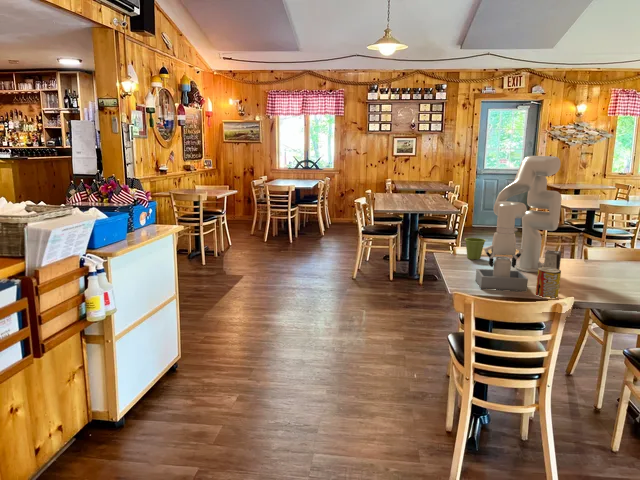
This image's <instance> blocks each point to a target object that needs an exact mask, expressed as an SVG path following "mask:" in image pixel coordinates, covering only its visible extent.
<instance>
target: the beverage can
mask: <svg viewBox="0 0 640 480" xmlns="http://www.w3.org/2000/svg"><path fill="white" fill-rule="evenodd" d="M536 275H537V277H536V286H535V287H536V288H535V294H536V295H539V296H542V297H550V298H556V297H558V298H559V290H560V284H561V275H562V270H561V269H555V268H549V267H540V268H538V272H537V274H536ZM536 295H535V296H536Z"/></svg>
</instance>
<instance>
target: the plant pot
mask: <svg viewBox="0 0 640 480" xmlns="http://www.w3.org/2000/svg"><path fill="white" fill-rule="evenodd" d="M463 240H464V241H465V247H466V257H467V259H469V260H473V261H474V260H477V261H478V260H481V257H482V253H483V250H484V245H485V242H486V241H487V240H486V239H485V238H480V237H479V238H478V237H465V238H464V239H463Z"/></svg>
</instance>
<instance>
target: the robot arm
mask: <svg viewBox="0 0 640 480" xmlns="http://www.w3.org/2000/svg"><path fill="white" fill-rule="evenodd" d="M561 166H562V165H561V159H560V158H559V157H558V156H553V155H552V156H551V155H528V156H526V157H524V158H523V160H522V161H521V162H520V164H519V167H518V170H517V172H516V175H515V178H514V180H513V182H511V183H510V184H509V185H507V186H505V187H504V188H503V189H502V190H501V191H499V193H498V194H497V197H496V199H495V202H494V205H493V213H494V215H496V216H497V218H496V219H497V221H496V230H495V231H496V232H494V233H493V236H492V242H491V245H488V246H486V247H483V250H484V253H485V254H486V255H487V257H488V258H489V259H488V264H489V266H490V267H491V268H494V260H495V259H494V257H496V256H512V257H511V267H512V268H513V269H514V268H515V269H516V270H517V271H520V272H527V273H538V268H540V267H544V262H541V261H540V258H541V257H540V256H541V248H542V241H543V237H542V234H541V233H540V231H541V230H542V231H549V232H553V231H556V230H557V229H558V227H559V223H560V217H561V209H562V195H561V193H560V192H559V191H557V190H548V189H547V187H548V186H547V185H548V178H547V177H552V176H553V175H555V174H557V173H558V172H559V171H560V169H561ZM524 193H527V199H526V202H527V203H526V204H527V205H526V204H525V203H523V202H521V201H509V199H510V198H512V197H514V196H517V195H520V194H524ZM527 206H528V207H530V208H534V209H543V210H548V211H542V210H528V208H527ZM516 219H521V227H522V229H521V230H522V233H521V234H522V235H521V244H520V247H519V246H517V237H516V233H515V232H518V231H519V230H518V228H516V227H515V226H516V225H515V224H516V223H515V222H516ZM489 250H490V251H491V252H489ZM517 251H518V252H517ZM516 252H517V253H516ZM518 259H519V263H518V264H517V260H518Z"/></svg>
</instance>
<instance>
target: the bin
mask: <svg viewBox="0 0 640 480" xmlns="http://www.w3.org/2000/svg"><path fill="white" fill-rule="evenodd" d="M475 270H476V271H475V282H476V284H477V285H479V286H478V287H479V289H480V288H481V289H480V290H483V289H496V290H495V291H503V290H510V291H509V292H522V291H527V290H528V283H529V278H527V276H526V275H524V274H523V273H522V271H521V270H513V269H512V270H510V278H509V277H493V269H488V268H476V269H475Z"/></svg>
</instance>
